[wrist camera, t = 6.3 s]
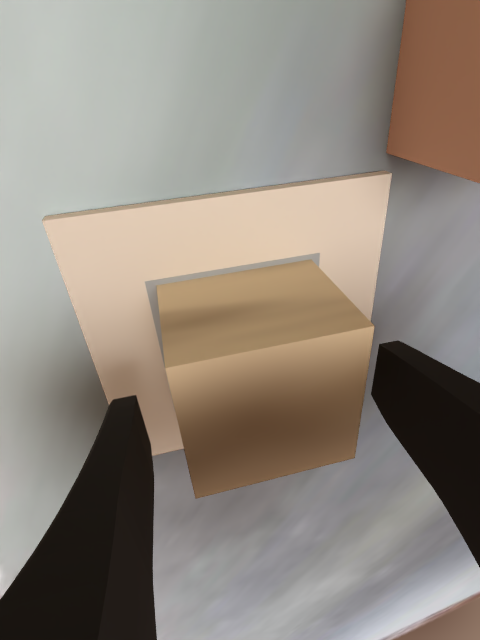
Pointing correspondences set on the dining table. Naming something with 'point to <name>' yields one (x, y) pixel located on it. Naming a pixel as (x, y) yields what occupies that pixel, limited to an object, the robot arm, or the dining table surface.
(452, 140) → the terracotta block
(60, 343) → the dining table surface
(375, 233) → the square frame
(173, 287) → the maple block
